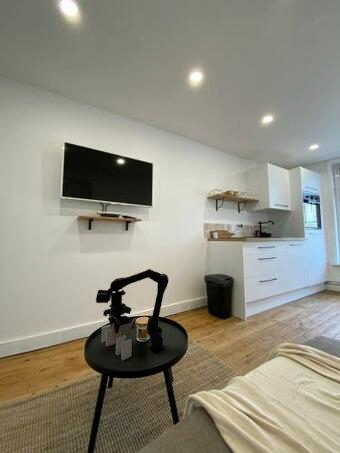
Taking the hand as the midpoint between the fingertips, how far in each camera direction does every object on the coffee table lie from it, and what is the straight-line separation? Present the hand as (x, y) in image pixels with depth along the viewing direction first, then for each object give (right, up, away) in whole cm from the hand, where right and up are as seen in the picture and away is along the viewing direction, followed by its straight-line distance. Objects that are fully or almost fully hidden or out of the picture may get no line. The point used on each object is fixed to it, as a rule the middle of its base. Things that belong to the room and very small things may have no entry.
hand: (115, 332), depth 109 cm
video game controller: (+8, -10, +24) cm, 27 cm away
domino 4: (+4, -8, -4) cm, 10 cm away
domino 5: (+7, -8, -8) cm, 14 cm away
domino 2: (-4, -9, +4) cm, 10 cm away
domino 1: (-8, -9, +8) cm, 14 cm away
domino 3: (0, -3, 0) cm, 3 cm away
